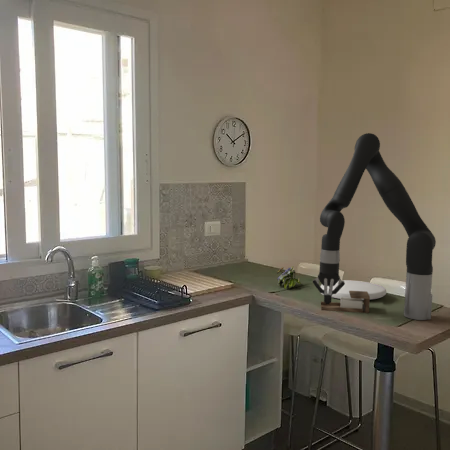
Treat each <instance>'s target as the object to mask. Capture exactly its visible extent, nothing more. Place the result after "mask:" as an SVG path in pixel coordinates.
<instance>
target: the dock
mask: <svg viewBox="0 0 450 450" xmlns="http://www.w3.org/2000/svg"><path fill="white" fill-rule="evenodd" d="M349 293H350V296H351V298H360V299H364V300H363V303H362V309H357V308H340V302H337V301H336V302H335V301H331V303H329V304H326V303H324V301H320V310H321V311H330V312H341V313H342V312H343V313H344V312H345V313H346V312H347V313H360V314H361V313H363V314H369V313H370V296H369V294H368V292H366V291H349Z"/></svg>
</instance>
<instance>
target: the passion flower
mask: <svg viewBox="0 0 450 450" xmlns="http://www.w3.org/2000/svg"><path fill="white" fill-rule="evenodd" d="M278 269H279V270H277V272H276V274H279V273H281V274H280V275H279V276H278V277H277V278H276V279H277V281H278V283H277V286H278V287H281V286H282V285H283V284H284V285H283V286H284V287H283V288H284V290H287V289H291V288H294V287H296V288H297V287H298V286H297V284H300V285H301V284H302V283H301V281H300V279H301V277H298V278H296V270H295V268H294V266H291V267H288V269H285V270H284V271H283V269H284V267H281V268H278Z"/></svg>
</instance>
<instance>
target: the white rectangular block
mask: <svg viewBox="0 0 450 450" xmlns="http://www.w3.org/2000/svg"><path fill="white" fill-rule="evenodd" d="M339 303H340V308H357V309H362V304H364V300H362V299H360V298H351V297H341V299H340V302H339Z"/></svg>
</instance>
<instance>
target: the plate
mask: <svg viewBox="0 0 450 450" xmlns="http://www.w3.org/2000/svg"><path fill="white" fill-rule="evenodd" d="M341 280H342V279H341ZM342 281H344V283H345V285H344V286H343V287H342V288H341V289H340V290H339V291H338V292H337V293H336V294H333V295H332V298H333V299H334V298H335V299H340V300H341V297H351V296H350V293H349V291H366V292H368V294H369V296H370V300H376V299H380V298H383V297H384V296H386V294H387V288H386V287H385V286H383V285H380V284H377V283H373V282H368V281H361V280H350V279H344V280H342ZM338 282H339V281H338ZM338 282H337V283H336V284H335V285H334V286H333V290H334V289H335V288H336V287H337V286H338ZM320 287H321V288H322V289H323V290H324V286H323V285H322V284H320ZM328 292H329V286H327V293H328ZM320 295H322V296H324V294H323V293H320ZM362 301H364V299H362Z"/></svg>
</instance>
